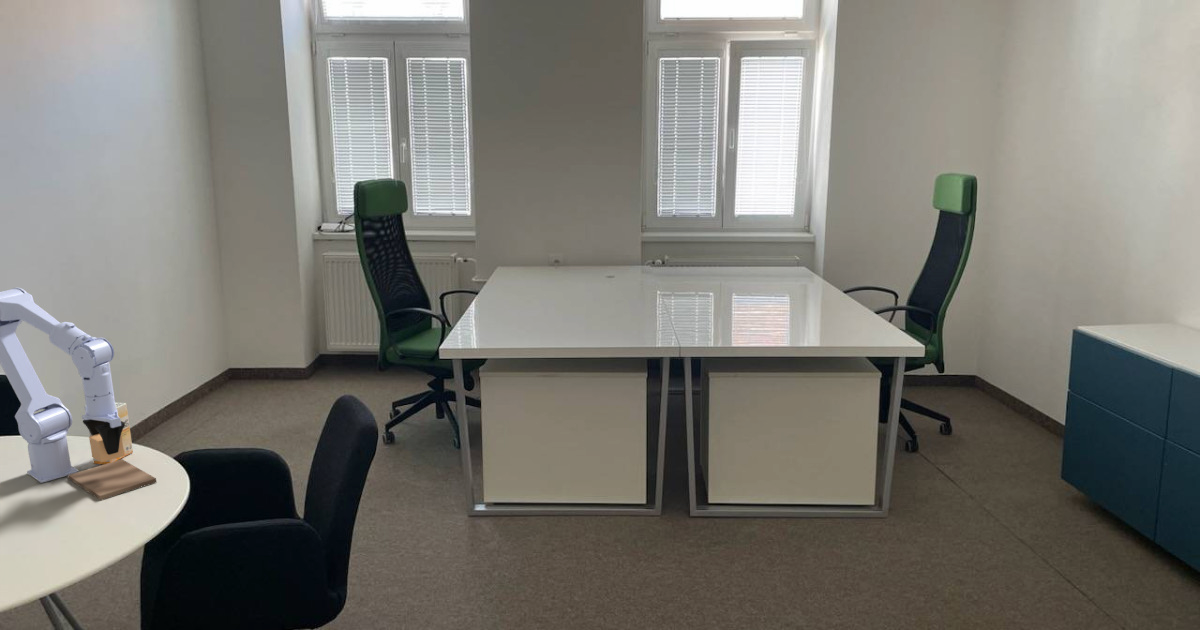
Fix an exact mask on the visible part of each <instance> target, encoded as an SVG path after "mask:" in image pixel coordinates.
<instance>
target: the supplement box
mask: <svg viewBox="0 0 1200 630" xmlns="http://www.w3.org/2000/svg"><path fill="white" fill-rule="evenodd" d="M115 404H116V409H117V411H118V416H119V417H120V420H121V421H122V422H124V423H125V426H124V428H123V430H122V433H121V435H122V442H123V449H124V455H125V456H122V457H118V458H115V459H111V460H108V461H105V462H100V461H98V460H96V459H95V458H93V457H92V459H93V464H96V465H104V464H108V463H111V462H115V461H118V460H122V458H125V457H126V456H129V455H130V454H133V451H134V450H133V443H132V433H131V428H130V421H129V419H130V418H129V413H128V412H129V411H128V406H127V403H126V402H115ZM88 431H89V430H88ZM89 436H92V435H91V433H90V431H89Z"/></svg>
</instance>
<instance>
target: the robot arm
mask: <svg viewBox="0 0 1200 630" xmlns="http://www.w3.org/2000/svg"><path fill="white" fill-rule="evenodd" d="M22 322H25V323H26V324H28V325H30V326H32V327H34V328H35V329H38V330H39V331H40V332H43V333H44V334H47V335H48V339H49V342H50V343H51V344H52V345H54V347H57V348H58V349H60V350H61V351H63V352H64V353H66V354H67V355H68V356H70V357H71V359H72V363H73V364H74V365H75V367H76V368H77V371H78V375H80V377H81V380H82V386H83V387H82V388H83V394H84V400H85V406H84V412H85V414H83V415H81V419H82V423H83V424H84V425H85V427H86V428H87V430H88V431H90V433H91V435H92V436H93V435H96V434H100V436H101V438H102V440H103V443H104V446H105V449H106V452H107V454H108V455H110V454H114V453H117V452H118V450H119V442H120V436H121V433H122V430H123V428H124V426H125V423H124V422H122V421H121V420H120V417H119V416H118V411H117V409H116V404H115V403H116V400H115V392H114V384H113V380H112V379H113V378H112V377H113V376H112V370H111V364H110V362H112V361H113V360H114V357H115V349H114V347H113V345H112V343H111V342H110V341H108V339H106V338H105V337H96V336H91V335H90V334H88V333H86V332H84V331H83V330H82V329H80V328H78V327H77V326H76V324H75V323H73V322H71V321H70V322H68V321H63V322H60V321H58V320H57V319H56V318H55V317H54V316H53V315H51V314H50V313H48V312H47V311H46V310H45V309H43V308H41V306H39V305H38V304H37V303H35V301H34V298H33V295H32V294H30V293H29V292H27V290H25V289H23V288H22V287H13V288H11V289H8V290H3V291H0V367H1V368H2V370H3V372H4V374H5V376H6V377H7V380H8V381H9V384H10V386H11V387H12V389H13V391H14V393H15V395H16V397H17V398H18V400H19V402H20V407H18V410H17V412H16V413H15V415H14V418H15V420H16V422H17V425H18V426H17V427H18V432H19V435H20V436H21V438H22V439H23V440H24V441H25V442H26V443H27V452H28V457H29V463H30V469H29V470H27V471H26V473H27V474H28V475H29V476H30V477H33V479H35V480H37V481H38V482H39V483H41V484H43V483H45V482H50V481H53V480H56V479H59V478H64V477H66V476H67V477H68V475H70V474H74V473H77V472H79V470H78V469H77V468H75V466H72V463H71V456H70V452H69V446H68V445H69V444H68V438H67V435H68V434H69V429H70V428H71V427H72V424H73V415H72V413H71V412H70V410H69V409H68V408H67V407H66V406H65V405H64V404H63V402H62V400H61V399H60V397H57V396H54V395H50V394H48V393H47V392H46V390H45V388H44V386H43V384H42V382H41V380H40V378H39V376H38V374H37V373H36V371H35V369H34V367H33V364H32V362H31V360H30V359H29V357H28V355H27V354H26V351H25V350H24V348H23V345H22V343H21V342H20V340H19V338H18V336H17V334H16V331H17V329H18V327H19V326H20V325H21V324H22ZM35 412H36V413H35ZM90 433H89V434H90Z"/></svg>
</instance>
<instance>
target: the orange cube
mask: <svg viewBox="0 0 1200 630" xmlns="http://www.w3.org/2000/svg"><path fill="white" fill-rule="evenodd" d="M88 439H89V445H90V450H91V457H92V459H93V458H95V459H96V460H98V461H100V462H105V461H108V460H111V459H115V458H118V457H122V456H125V455H124V449H123V442H122V435H121V436H120V442H119V450H118V452H117V453H114V454H110V455H108V454H107V452H106V449H105V446H104V443H103V440H102V438H101V436H100V434H96V435H93V436H90V435H89V436H88ZM125 457H126V456H125Z"/></svg>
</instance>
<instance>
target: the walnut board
mask: <svg viewBox="0 0 1200 630" xmlns="http://www.w3.org/2000/svg"><path fill="white" fill-rule="evenodd" d="M67 477H68V480H69V481H71V482H72V481H73V482H72V483H74V484H75V483H76V485H77V486H78V485H79V487H80V488H81V487H82V488H81V489H83V490H84V489H85V491H86V492H87V491H88V493H89V494H91V495H92V496H94V497H95V498H97V499H98V500H100V501H103V500H106V499H109V498H112V497H115V496H118V494H119V495H121V493H122V494H124V493H123V492H125V493H127V492H126V491H128V492H130V490H131V491H134V490H136V489H135V488H137V489H140V488H142V487H141V486H144V485H147V486H149V485H148V484H150V485H153V484H156V483H157V477H155V476H153V475H151V474H149V473H147V472H146V471H143V470H142V469H141V468H139V467H137V466H135V465H134V464H131V463H129V462H128V461H126V460H124V459H122V458H121V459H119V460H118V461H115V462H111V463H108V464H100V465H99V466H95V467H91V468H87V469H85V470H81V471H78V472H77V473H74V474H70V475H67ZM155 482H156V483H155ZM152 483H153V484H152ZM139 487H140V488H139ZM144 487H145V486H144ZM133 489H134V490H133ZM111 496H112V497H111ZM105 498H106V499H105ZM102 499H103V500H102Z"/></svg>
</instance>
